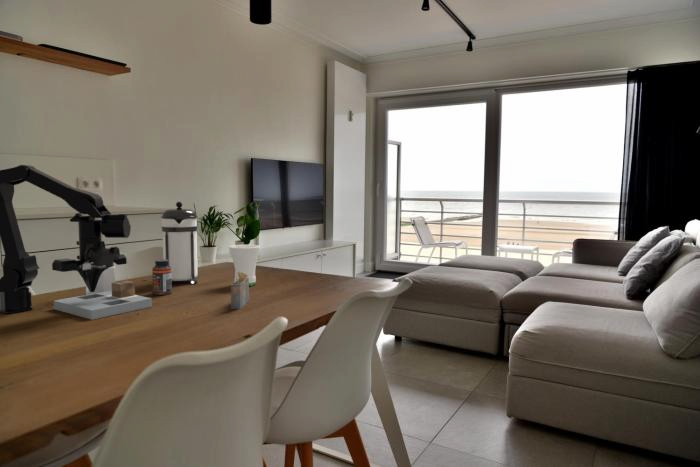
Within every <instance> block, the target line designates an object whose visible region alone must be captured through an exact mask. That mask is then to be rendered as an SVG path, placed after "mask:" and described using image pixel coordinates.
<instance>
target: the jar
mask: <svg viewBox="0 0 700 467" xmlns="http://www.w3.org/2000/svg"><path fill="white" fill-rule="evenodd" d="M114 264H115V263H113V265H106V267H108V269H106V270H104V271H103V272H102V274H101V276H100V278H99V280H98V283H97V286H96V289H95V291H94V292H90V291H89V289H88V287H87V286H86V285H85V295H89V294H94V293H100V292H106V291H111V290H112V283H114V282H116V271H115V270H116V269H115V265H114Z"/></svg>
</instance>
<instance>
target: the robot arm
mask: <svg viewBox="0 0 700 467" xmlns="http://www.w3.org/2000/svg"><path fill="white" fill-rule="evenodd" d="M25 182H27V183H29V184H31V185H33V186H35V187H37V188H40V189H41V190H43V191H45V192H48V193H50V194H52V195H54V196H56V197H57V198H60V199H61V200H62V201H64V202H66V204H67V205H68V206H69V207H71V208H72V209H74V211H76V212H77V213H75V214H74V216H73V217H71V218H70V219H69V222H71V223H77V224H78V228H77V229H78V240H77V241H76V245H77V246H78V249H79V250H78V252H79V254H78V255H76V259H72V258H59V259H54V260H53V262H52V263H51V267H52V271H56V272H62V273H63V272H64V273H66V272H73V271H75V272H78V274H79V275H80V277H81V278H82V281H83V282H84V283H85V287H86V286H87V287H88V289H89V291H90V292H94V291H95V289H96V286H97V283H98V280H99V278H100V276H101V274H102V272H103V271H104V270H106V269H108V267H106V265H113V263H114V264H115V265H116V266H121V265H127V264H128V261H127V260H128V259H127V256H126V255H125V254H124V253H123V254H122V253H120V248H119V247H118V246H111V247H109V248H108V247H106V243H105V241H104V240H102V236H104V237H105V238H107V239H113V238H114V239H117V238H118V239H119V238H120V239H121V238H122V239H125V238H126V239H128V238H129V237H130V236H131V228H132V227H131V223H130V221H129V218H128V213H120V214H119V213H118V214H112V213H111V212H110V210H109V209H108V208H107V207H106V205H105V204H104V201H103V197H102V196H101V195H100V194H98V193H94V192H91V191H88V190H84V189H80V188H77V187H73V186H71V185H69V184H67V183H65V182H63V181H61V180H59V179H57V178H55V177H53V176H51V175H49V174H47V173H45V172H43V171H41V170H40V169H37V168H36V167H34V166H33V165H30V164H29V165H27V164H20V165H17V166H14V167H10V168H5V169H0V241H1V244H2V248H3V252H4V257H3V258H4V259H3V262H2V275H3V276H2V277H0V312H1V313H4V314H7V315H8V314H14V313H20V312H25V311H26V312H27V311H31V310H33V309H34V308H33V307H32V293H31V292H30V287H31V286H32V284H33V280H35V279H36V278H37V276H38V272H39V271H38V270H39V269H40V267H39V266H40V265H38V261H37V256H36V255H35V254H33V255H30V254H29V253H28V252H27V251H26V248H25V245H24V242H23V238H22V234H21V231H20V227H19V223H18V219H17V215H16V212H15V208H14V205H13V198H14V194H15V186H17V185H20V184H23V183H25Z"/></svg>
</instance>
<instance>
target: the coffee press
mask: <svg viewBox="0 0 700 467" xmlns="http://www.w3.org/2000/svg"><path fill="white" fill-rule="evenodd" d="M175 206H176V208H169V209H165V210H164V211H163V212H162V214H161V216H160V218H161V219H160V220H161V232H162V259H166V260H168V265H169V266H170V267H171V272H172V282H181V281H184V282H185V281H187V282H190V283H191V284H192V285H196V284H198V281H197V278H198V225H197V222H198V220H197V219H198V215H197V213H196V211H195V210H193V209H191V208H182V207H183V203H182V202H181V201H177V202H176V204H175Z"/></svg>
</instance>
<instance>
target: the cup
mask: <svg viewBox="0 0 700 467" xmlns="http://www.w3.org/2000/svg"><path fill="white" fill-rule="evenodd" d="M228 249H229V250H228V251H229V255H230V256H231V259H232V262H233V267H234V282H235V281H237V280H238V279H239V276H238V273H239V272H241V273H243V274H246V275H248V277H247V278H249V287H252V286H253V285H255V284H256V282H257V277H256V276H257V275H256V267H257V261H258V258H259V255H260V254H261V245H257V244H235V245H234V244H233V245H229V247H228ZM237 272H238V273H237Z"/></svg>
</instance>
